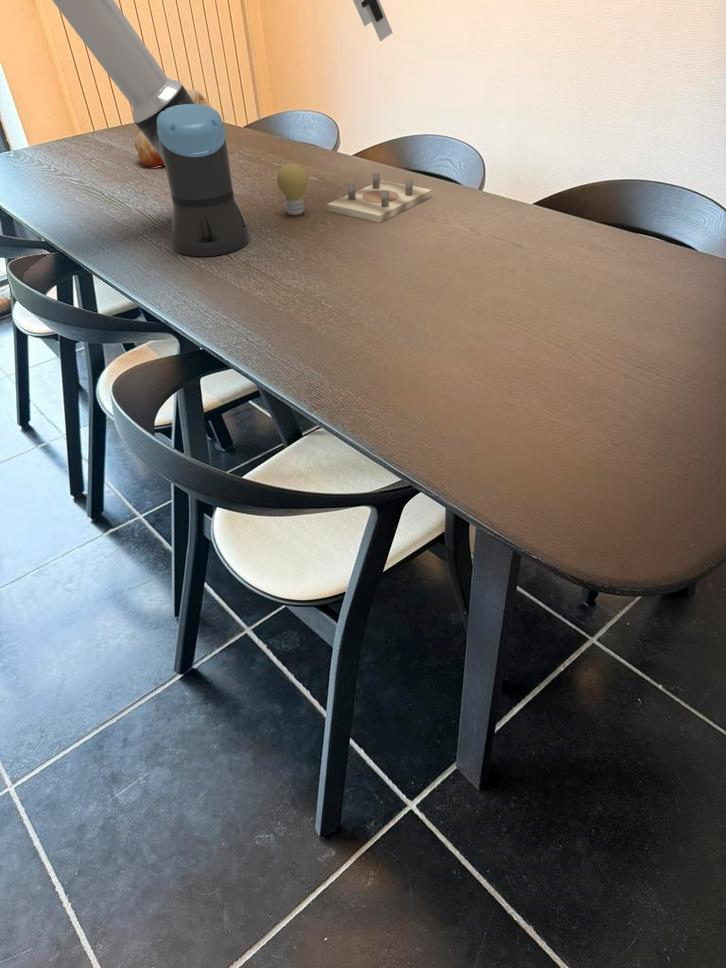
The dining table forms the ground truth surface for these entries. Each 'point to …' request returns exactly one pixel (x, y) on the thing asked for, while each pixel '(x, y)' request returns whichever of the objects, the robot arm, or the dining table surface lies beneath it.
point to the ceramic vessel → (145, 147)
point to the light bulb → (292, 187)
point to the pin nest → (379, 199)
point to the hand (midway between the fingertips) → (378, 29)
